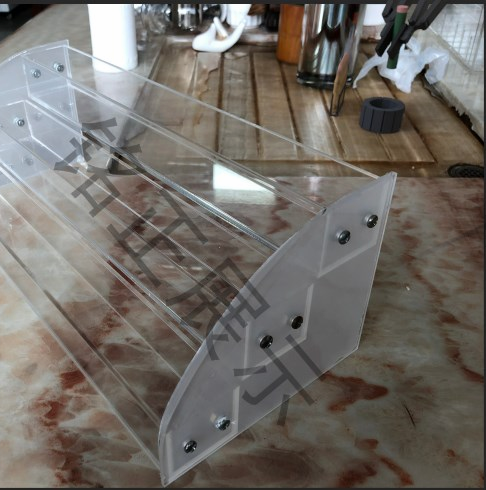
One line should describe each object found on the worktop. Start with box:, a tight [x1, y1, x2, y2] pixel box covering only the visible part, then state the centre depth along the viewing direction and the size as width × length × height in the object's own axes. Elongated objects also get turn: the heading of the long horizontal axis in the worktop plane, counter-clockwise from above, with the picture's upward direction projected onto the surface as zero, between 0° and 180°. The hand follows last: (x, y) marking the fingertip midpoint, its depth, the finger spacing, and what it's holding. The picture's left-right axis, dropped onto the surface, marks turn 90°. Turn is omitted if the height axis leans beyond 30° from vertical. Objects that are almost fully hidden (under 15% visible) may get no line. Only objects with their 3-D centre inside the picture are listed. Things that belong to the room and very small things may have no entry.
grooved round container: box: [358, 96, 406, 134], centre depth 129 cm, size 9×9×5 cm
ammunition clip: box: [328, 50, 349, 117], centre depth 136 cm, size 11×2×12 cm, turn 158°
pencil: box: [385, 5, 409, 70], centre depth 119 cm, size 2×2×12 cm
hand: (384, 54), depth 118 cm, fingers closed on pencil, 2 cm apart
